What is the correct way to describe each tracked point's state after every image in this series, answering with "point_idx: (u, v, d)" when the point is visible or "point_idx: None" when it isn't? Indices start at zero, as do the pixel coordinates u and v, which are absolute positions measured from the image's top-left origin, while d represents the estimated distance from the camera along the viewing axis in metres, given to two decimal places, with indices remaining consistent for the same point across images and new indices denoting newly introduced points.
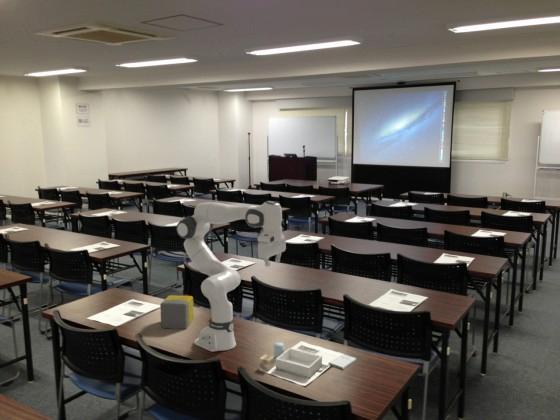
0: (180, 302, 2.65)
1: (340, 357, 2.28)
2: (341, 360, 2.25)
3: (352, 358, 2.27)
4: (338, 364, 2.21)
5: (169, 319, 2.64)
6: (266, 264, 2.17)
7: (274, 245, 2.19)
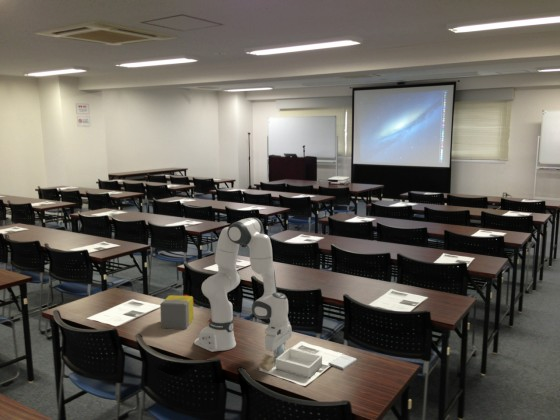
0: (180, 302, 2.65)
1: (340, 357, 2.28)
2: (341, 360, 2.24)
3: (352, 358, 2.27)
4: (338, 364, 2.20)
5: (169, 319, 2.64)
6: (275, 353, 2.26)
7: (281, 335, 2.26)
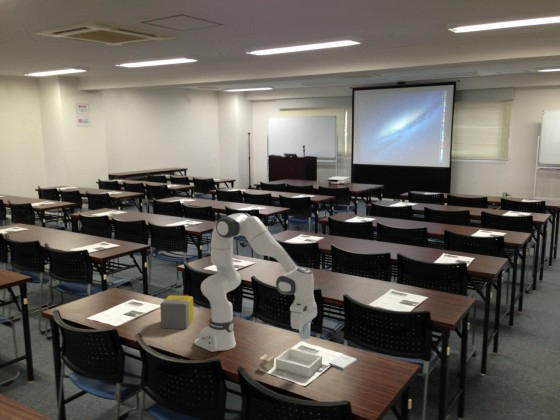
0: (180, 302, 2.65)
1: (340, 357, 2.28)
2: (341, 360, 2.24)
3: (352, 358, 2.26)
4: (338, 364, 2.20)
5: (169, 319, 2.64)
6: (300, 332, 2.13)
7: (306, 313, 2.14)
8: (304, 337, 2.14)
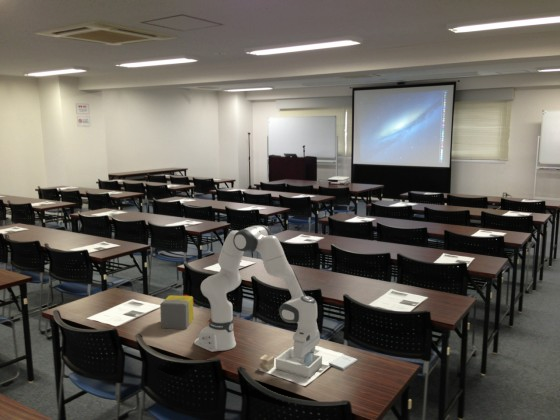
0: (180, 302, 2.65)
1: (341, 358, 2.27)
2: (342, 361, 2.24)
3: (353, 359, 2.26)
4: (338, 364, 2.20)
5: (169, 319, 2.64)
6: (301, 362, 2.12)
7: (309, 341, 2.14)
8: None
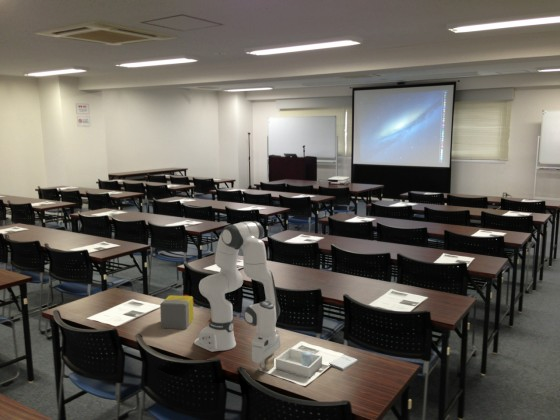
0: (179, 302, 2.65)
1: (341, 358, 2.27)
2: (342, 361, 2.24)
3: (353, 359, 2.26)
4: (338, 365, 2.20)
5: (169, 319, 2.64)
6: (262, 365, 2.16)
7: (268, 346, 2.17)
8: None
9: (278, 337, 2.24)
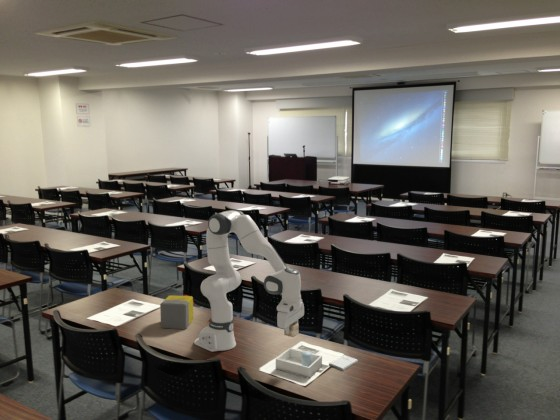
0: (179, 302, 2.65)
1: (341, 358, 2.27)
2: (342, 361, 2.24)
3: (353, 359, 2.26)
4: (338, 365, 2.20)
5: (169, 319, 2.64)
6: (287, 331, 2.16)
7: (293, 313, 2.16)
8: None
9: (302, 305, 2.23)
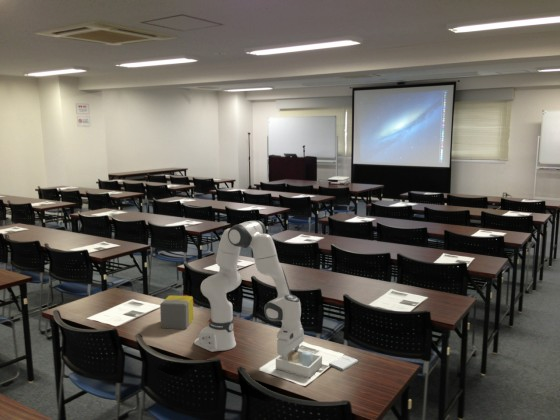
0: (179, 302, 2.65)
1: (341, 358, 2.27)
2: (342, 361, 2.24)
3: (353, 359, 2.25)
4: (338, 365, 2.19)
5: (169, 319, 2.64)
6: (285, 359, 2.16)
7: (293, 339, 2.18)
8: None
9: (302, 331, 2.25)
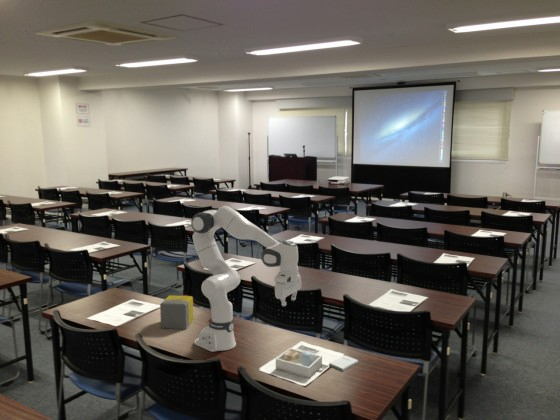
0: (179, 302, 2.65)
1: (342, 358, 2.26)
2: (342, 361, 2.23)
3: (354, 360, 2.25)
4: (338, 365, 2.19)
5: (169, 319, 2.64)
6: (283, 304, 2.19)
7: (290, 284, 2.21)
8: None
9: (299, 277, 2.28)
